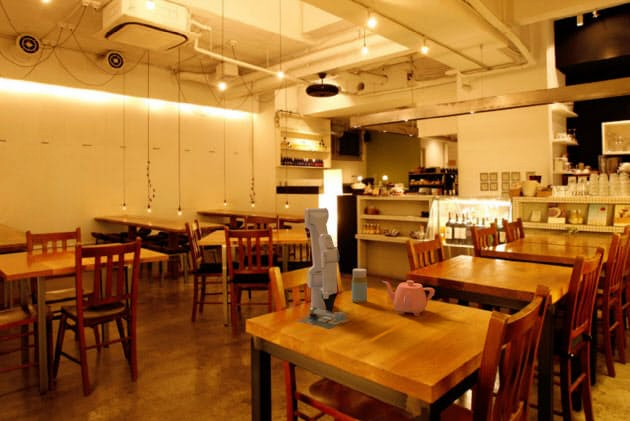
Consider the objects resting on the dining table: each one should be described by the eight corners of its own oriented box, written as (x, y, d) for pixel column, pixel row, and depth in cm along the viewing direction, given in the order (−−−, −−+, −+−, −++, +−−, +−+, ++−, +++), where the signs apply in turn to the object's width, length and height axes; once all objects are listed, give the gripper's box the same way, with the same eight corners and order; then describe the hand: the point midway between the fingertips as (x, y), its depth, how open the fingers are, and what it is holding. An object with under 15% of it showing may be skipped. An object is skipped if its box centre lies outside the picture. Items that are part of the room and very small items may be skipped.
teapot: (407, 320, 173) (407, 286, 172) (381, 309, 188) (381, 278, 187) (437, 314, 181) (437, 282, 180) (410, 305, 196) (410, 275, 195)
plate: (317, 314, 181) (317, 311, 181) (350, 321, 171) (350, 318, 171) (296, 322, 170) (296, 319, 170) (329, 331, 160) (329, 328, 160)
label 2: (335, 319, 171) (335, 318, 171) (342, 321, 169) (342, 320, 169) (328, 322, 167) (328, 321, 167) (335, 324, 165) (335, 323, 165)
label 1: (325, 317, 174) (325, 316, 174) (332, 318, 172) (332, 318, 172) (317, 320, 170) (317, 319, 170) (324, 322, 168) (324, 321, 168)
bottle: (349, 302, 199) (349, 270, 198) (355, 299, 205) (355, 267, 204) (363, 304, 196) (363, 271, 195) (369, 301, 202) (369, 269, 201)
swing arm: (307, 315, 174) (307, 307, 174) (312, 313, 177) (312, 305, 177) (340, 323, 164) (340, 314, 164) (345, 321, 167) (345, 312, 167)
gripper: (324, 274, 182) (324, 306, 183) (315, 281, 168) (315, 316, 169) (340, 275, 180) (340, 307, 181) (333, 282, 166) (333, 317, 167)
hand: (329, 312), depth 175 cm, fingers closed
